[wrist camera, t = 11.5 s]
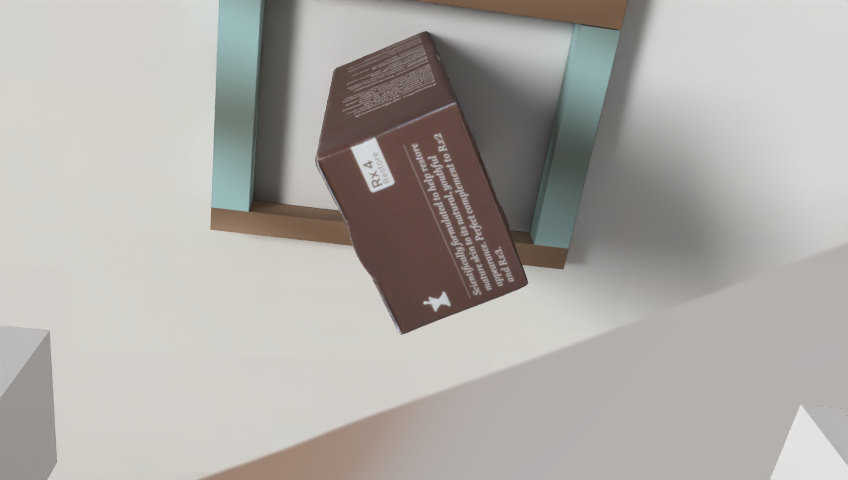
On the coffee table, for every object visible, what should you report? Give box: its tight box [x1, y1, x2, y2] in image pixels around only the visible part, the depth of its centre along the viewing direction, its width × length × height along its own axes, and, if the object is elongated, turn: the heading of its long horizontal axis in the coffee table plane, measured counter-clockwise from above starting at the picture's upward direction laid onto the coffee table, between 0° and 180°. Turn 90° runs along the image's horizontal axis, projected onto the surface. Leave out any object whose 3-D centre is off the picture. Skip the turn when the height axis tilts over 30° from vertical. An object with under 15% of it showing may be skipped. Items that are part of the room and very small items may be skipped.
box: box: [315, 31, 528, 335], centre depth 28 cm, size 6×4×12 cm
